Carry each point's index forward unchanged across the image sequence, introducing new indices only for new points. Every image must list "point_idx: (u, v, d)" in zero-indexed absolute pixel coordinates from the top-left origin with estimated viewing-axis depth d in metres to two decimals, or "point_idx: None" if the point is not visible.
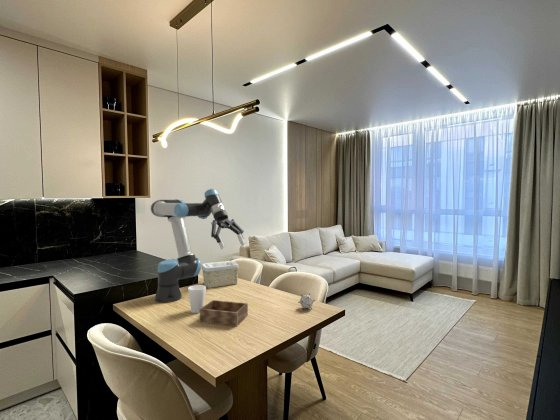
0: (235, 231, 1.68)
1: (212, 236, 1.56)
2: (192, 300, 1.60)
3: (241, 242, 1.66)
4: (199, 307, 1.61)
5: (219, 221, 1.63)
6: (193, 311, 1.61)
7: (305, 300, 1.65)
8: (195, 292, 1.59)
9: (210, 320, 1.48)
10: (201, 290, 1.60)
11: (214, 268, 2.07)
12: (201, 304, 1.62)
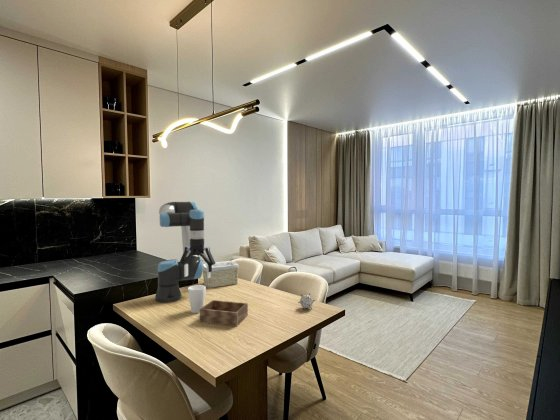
0: None
1: None
2: (192, 300, 1.60)
3: None
4: (199, 307, 1.61)
5: (191, 249, 1.63)
6: (193, 311, 1.61)
7: (305, 300, 1.65)
8: (195, 292, 1.59)
9: (210, 320, 1.48)
10: (201, 290, 1.60)
11: (214, 268, 2.07)
12: (201, 304, 1.62)
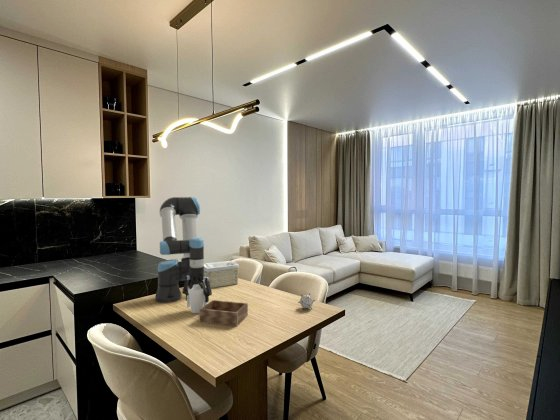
0: None
1: None
2: (192, 300, 1.60)
3: None
4: (199, 307, 1.61)
5: (190, 277, 1.63)
6: (193, 311, 1.61)
7: (305, 300, 1.65)
8: (195, 292, 1.59)
9: (210, 320, 1.48)
10: (201, 290, 1.60)
11: (214, 268, 2.07)
12: (201, 304, 1.62)
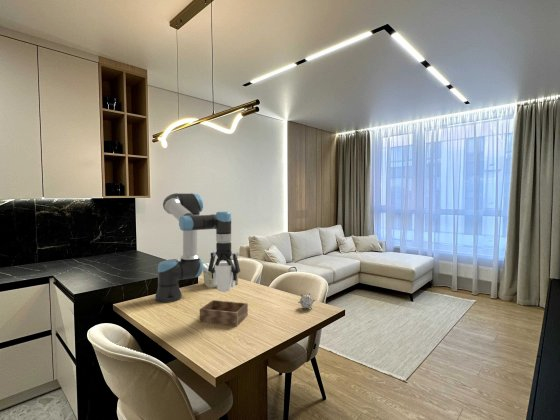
0: None
1: None
2: (219, 277, 1.49)
3: None
4: (227, 285, 1.50)
5: (217, 253, 1.52)
6: (220, 289, 1.50)
7: (305, 300, 1.65)
8: (223, 269, 1.48)
9: (210, 320, 1.48)
10: (229, 267, 1.49)
11: None
12: (229, 282, 1.50)
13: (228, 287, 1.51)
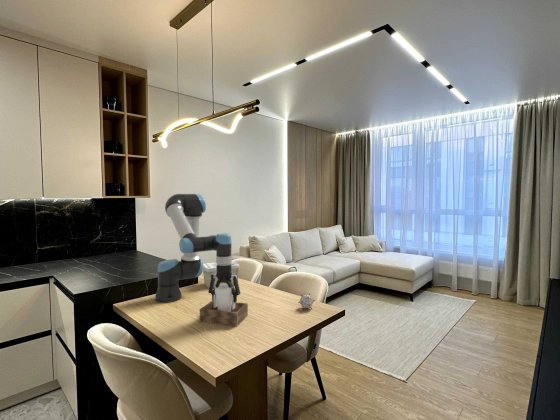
0: None
1: None
2: (219, 300, 1.49)
3: None
4: (227, 307, 1.50)
5: (217, 275, 1.52)
6: None
7: (305, 300, 1.65)
8: (223, 291, 1.48)
9: (210, 320, 1.48)
10: (229, 289, 1.50)
11: (214, 268, 2.06)
12: (229, 304, 1.51)
13: (228, 309, 1.51)
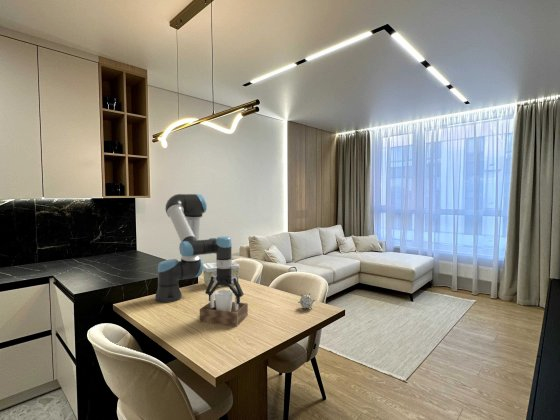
0: None
1: None
2: (219, 306, 1.50)
3: None
4: None
5: (217, 279, 1.52)
6: None
7: (305, 300, 1.65)
8: (222, 298, 1.48)
9: (210, 320, 1.48)
10: (229, 295, 1.50)
11: (214, 268, 2.06)
12: (228, 310, 1.51)
13: None
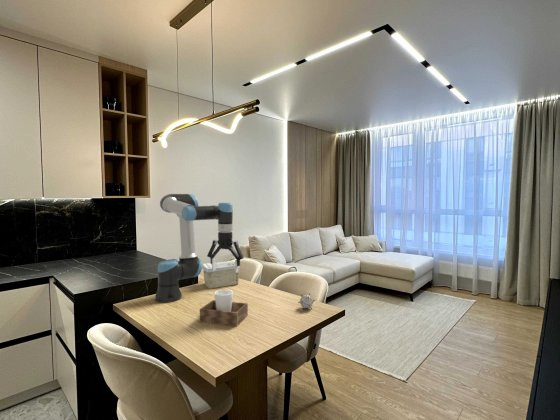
0: None
1: None
2: (219, 306, 1.50)
3: None
4: None
5: (219, 242, 1.60)
6: None
7: (305, 300, 1.65)
8: (222, 298, 1.48)
9: (210, 320, 1.48)
10: (229, 295, 1.50)
11: None
12: (228, 310, 1.51)
13: None
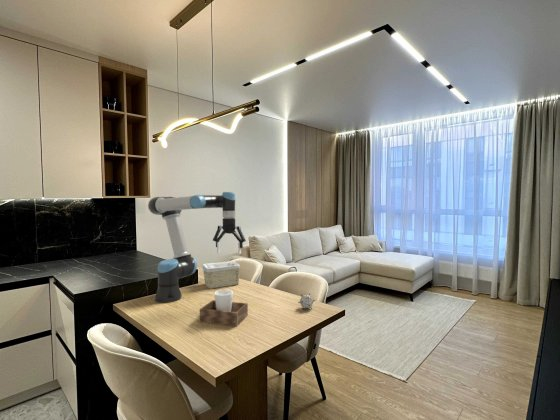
0: None
1: None
2: (219, 306, 1.50)
3: None
4: None
5: (223, 227, 1.79)
6: None
7: (305, 300, 1.65)
8: (222, 298, 1.48)
9: (210, 320, 1.48)
10: (229, 295, 1.50)
11: (215, 268, 2.05)
12: (228, 310, 1.51)
13: None
